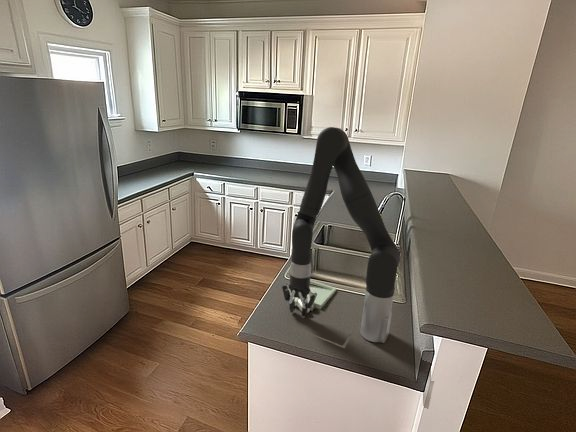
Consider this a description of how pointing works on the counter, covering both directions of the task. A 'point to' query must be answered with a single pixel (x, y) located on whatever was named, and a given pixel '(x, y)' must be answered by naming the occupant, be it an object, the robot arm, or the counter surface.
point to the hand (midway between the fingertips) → (298, 313)
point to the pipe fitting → (299, 304)
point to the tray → (321, 294)
